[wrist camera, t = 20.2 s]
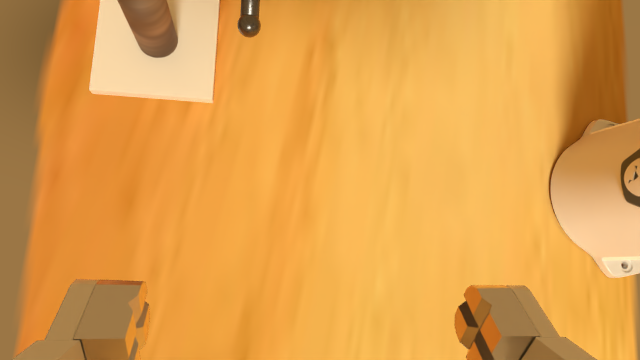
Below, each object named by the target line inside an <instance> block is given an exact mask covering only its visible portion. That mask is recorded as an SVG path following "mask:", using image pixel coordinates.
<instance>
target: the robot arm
mask: <svg viewBox="0 0 640 360" xmlns="http://www.w3.org/2000/svg"><path fill="white" fill-rule="evenodd" d="M551 200H552V205H553V209H554V212H555V215H556V217H557V219H558V221H559V223H560V225H561V227H562V228H563V230H564V231H565V233H566V234H567V235H568V236H569V237H570V238H571V240H572V241H573V242H575V243H576V244H577V245H578V246H579V247H581V248H582V249H583V250H585V251H586V252H587V253H589V254H590V255H591V256H592V257H593V259H594V260H595V262H596V263H597V265H598V266H599V268H600V269H601V271H602V272H603V273H604V274H605V275H606V276H607V277H610V278H618V277H624V276H629V275H633V274H638V273H640V119H636V120H633V121H629V122H625V123H622V124H618V123H614V122H611V121H608V120H604V119H599V120H595V121H592V122H591V123H590V124H589V125H588V127H587V128H586V130H585V132H584V134H583V136H582V137H581V138H580V139H579V140H578V141H577V142H575V143H574V144H572V145H571V146H570V147H568V148H567V149H566V150H565V151H564V152H563V153H562V155H561V156H560V157H559V159H558V161H557V162H556V164H555V167H554V170H553V173H552V177H551ZM621 264H623V267H622V266H621ZM146 295H147V286H146V282H144V281H122V280H86V279H76V280H75V281H74V282H73V283H72V284H71V285H70V287H69V289H68V292H67V294H66V296H65V298H64V300H63V302H62V304H61V306H60V308H59V311H58V313H57V315H56V317H55V319H54V321H53V323H52V325H51V327H50V329H49V332H48V334H47V336H46V338H45V340H39V341H36V342H34V343H33V344H32V345H30V346H29V347H28V348H27V349H25V350H24V351H23V352H21V353H20V354H19V355H17V356H16V357H15V358H13V359H12V360H141V358H140V351H139V350H140V349H141V348H142V347H143V346H144V345H145V344H146V340H147V336H148V330H149V322H150V309H149V304H148V303H147V302H145V299H146ZM464 297H465V299H466V301H465V302H464V303H462V304H461V305H460V306H458V309H457V311H456V314H455V329H456V334H457V336H458V339H459V341H460V343H462V344H463V345H464V346H465V347H466V348H467V349H468V352H467V356H466V358H467V360H597V359H595V358H594V357H592V356H591V355H590V354H588V353H587V352H585V351H584V350H583V349H581V348H580V347H579V346H577V345H576V344H574V343H573V342H572V341H570V340H569V339H567V338H566V337H560V336H559V335H558V333H557V331H556V330H555V328H554V327H553V325H552V324H551V322H550V321H549V319H548V317H547V316H546V314H545V313H544V311H543V310H542V308H541V307H540V305H539V304H538V302H537V300H536V299H535V297H534V296H533V294H532V293H531V291H530V290H529V289H528V288H527V287H526V286H504V285H471V286H469V287H468V288H467V289H466V291H465V293H464Z"/></svg>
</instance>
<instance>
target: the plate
mask: <svg viewBox="0 0 640 360" xmlns="http://www.w3.org/2000/svg"><path fill="white" fill-rule="evenodd" d="M167 3H168V6H169V10H170V13H171V16H172V20H173V23H174V27H175V30H176V34H177V37H178V44H177V47H176V49H175V50H174V52H173V53H171V54H170V55H168V56H166V57H163V58H154V57H150V56H148V55H146V54H145V53H144V52H143V51H142V50H141V49H140V47H139V45H138V43H137V41H136V39H135V37H134V35H133V32H132V30H131V28H130V26H129V24H128V22H127V20H126V18H125V16H124V13H123V11H122V9H121V7H120V5H119V3H118V1H117V0H100V7H99V15H98V23H97V31H96V39H95V47H94V55H93V63H92V71H91V79H90V87H89V90H90V91H91V92H92V94H104V95H117V96H130V97H143V98H156V99H169V100H182V101H195V102H208V103H213V97H214V83H215V68H216V54H217V40H218V25H219V11H220V0H167Z"/></svg>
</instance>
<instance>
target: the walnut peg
mask: <svg viewBox="0 0 640 360" xmlns="http://www.w3.org/2000/svg"><path fill="white" fill-rule="evenodd" d="M117 1H118V3H119V5H120V7H121V9H122V11H123V13H124V16H125V18H126V20H127V22H128V24H129V26H130V28H131V30H132V32H133V35H134V37H135V39H136V41H137V43H138V45H139V47H140V49H141V50H142V51H143V52H144V53H145V54H146V55H148V56H150V57H154V58H163V57H166V56H168V55H170V54H171V53H173V52H174V50H175V49H176V47H177V44H178V37H177V34H176V30H175V27H174V23H173V20H172V16H171V13H170V10H169V6H168V3H167V0H117Z"/></svg>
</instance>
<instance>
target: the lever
mask: <svg viewBox="0 0 640 360" xmlns="http://www.w3.org/2000/svg"><path fill="white" fill-rule="evenodd" d="M259 3H260V0H241V16H240V18H239V20H238V29H239V31H240V33H241V34H242V35H244V36H246V37H254V36H256V35H257V34H258V33H259V31H260V27H261V24H260V21H259Z"/></svg>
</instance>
